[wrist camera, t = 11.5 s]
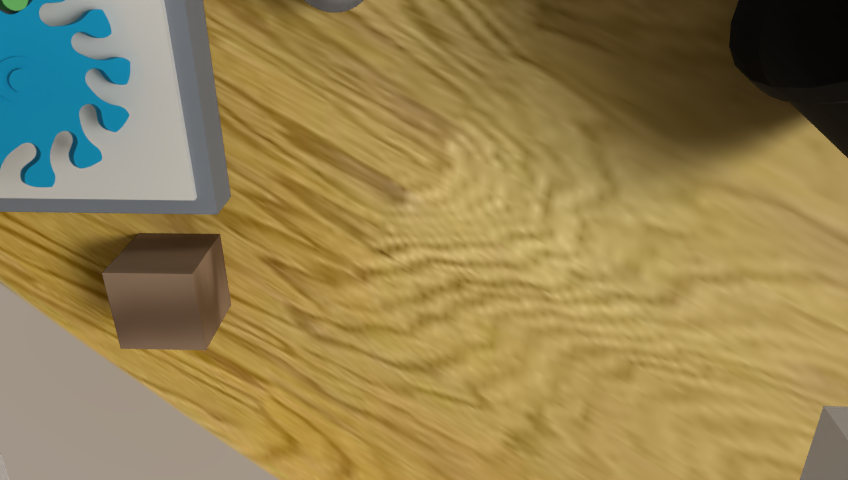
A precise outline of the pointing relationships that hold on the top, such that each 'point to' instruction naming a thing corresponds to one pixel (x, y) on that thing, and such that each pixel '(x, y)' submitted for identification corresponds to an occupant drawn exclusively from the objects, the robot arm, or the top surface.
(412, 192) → the top surface
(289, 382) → the top surface
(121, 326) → the walnut block
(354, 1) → the steel cylinder
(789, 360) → the top surface
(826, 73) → the car wheel rim
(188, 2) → the stand
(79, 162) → the gear
